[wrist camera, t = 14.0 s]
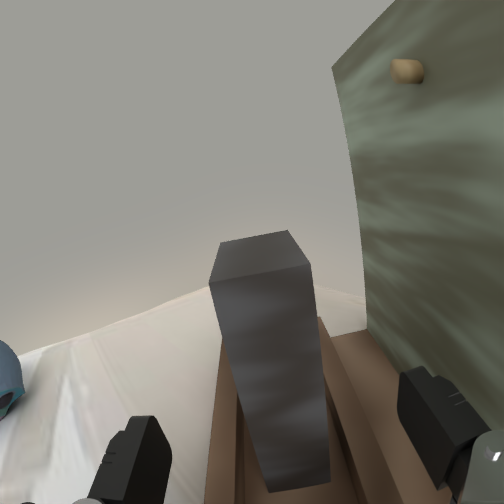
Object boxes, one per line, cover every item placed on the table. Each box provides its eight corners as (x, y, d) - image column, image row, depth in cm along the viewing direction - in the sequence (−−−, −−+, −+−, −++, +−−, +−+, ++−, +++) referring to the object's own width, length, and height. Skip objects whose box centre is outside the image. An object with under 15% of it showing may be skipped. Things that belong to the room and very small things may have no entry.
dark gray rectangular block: (267, 493, 14) (206, 282, 11) (262, 425, 20) (218, 243, 17) (330, 482, 14) (310, 263, 11) (313, 416, 20) (287, 230, 17)
